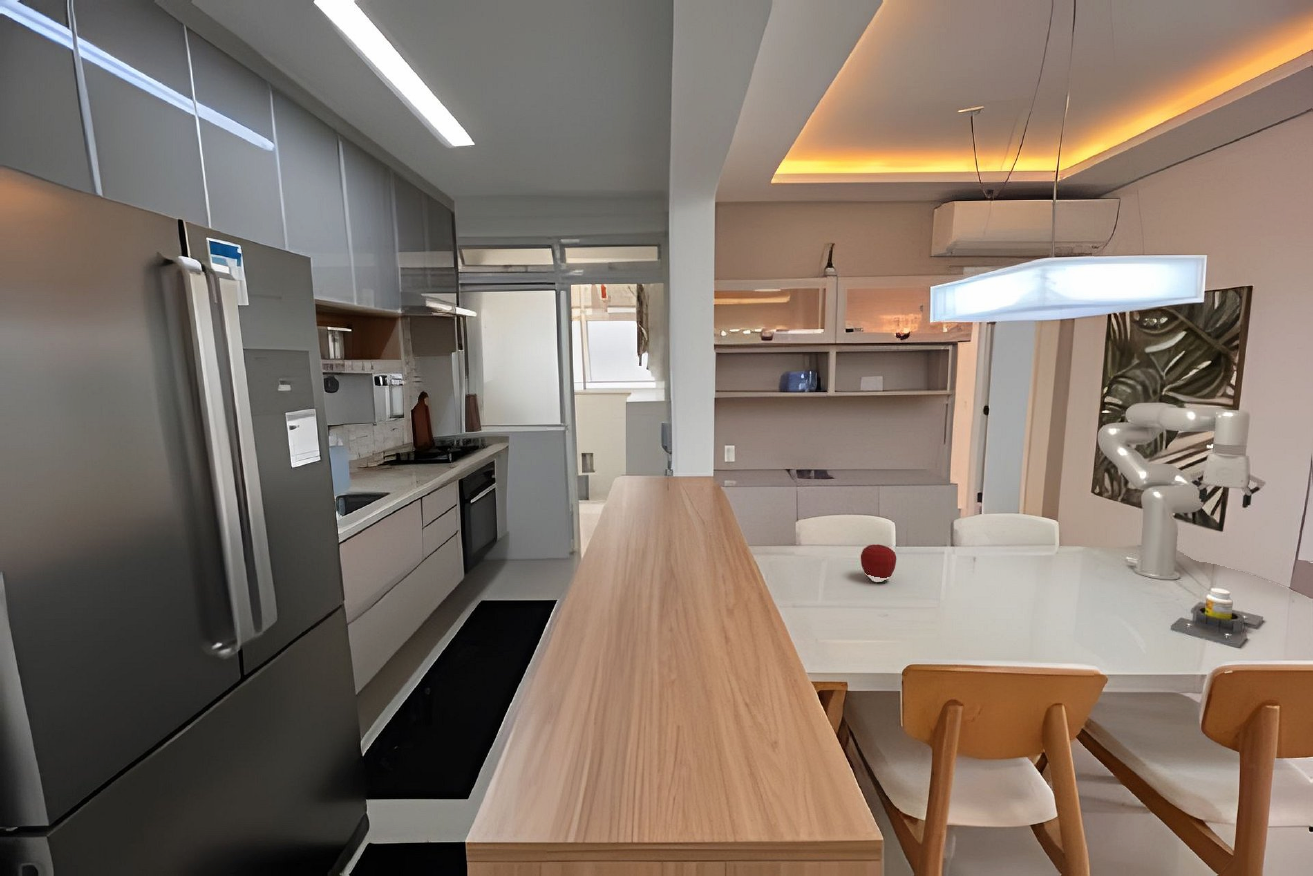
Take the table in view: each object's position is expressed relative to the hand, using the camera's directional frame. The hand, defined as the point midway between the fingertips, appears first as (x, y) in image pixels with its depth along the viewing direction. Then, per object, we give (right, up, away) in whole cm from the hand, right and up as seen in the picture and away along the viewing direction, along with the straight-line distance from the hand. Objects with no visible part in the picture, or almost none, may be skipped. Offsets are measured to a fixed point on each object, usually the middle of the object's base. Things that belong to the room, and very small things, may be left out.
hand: (1223, 504), depth 188 cm
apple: (-100, -29, +23) cm, 107 cm away
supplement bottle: (-17, -33, -16) cm, 40 cm away
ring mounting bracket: (-17, -33, -16) cm, 40 cm away
